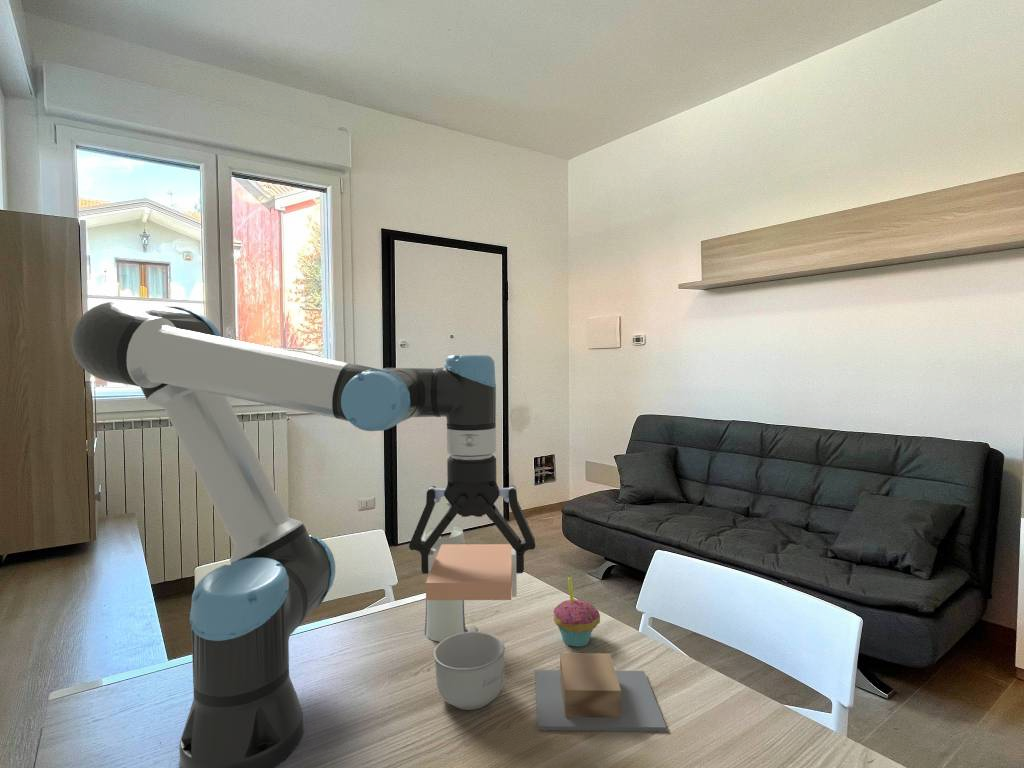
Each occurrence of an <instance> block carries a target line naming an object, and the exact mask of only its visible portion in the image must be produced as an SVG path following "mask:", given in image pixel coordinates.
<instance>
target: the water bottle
mask: <svg viewBox="0 0 1024 768" xmlns="http://www.w3.org/2000/svg"><path fill="white" fill-rule="evenodd" d="M445 504H446V505H447V506H448V507H449V508H450V507H451V504H450V503H449V502H445ZM435 528H436V527H429V528H428V529H425V530H424V532H423V535H422V537H421V540H422V541H424V542H425V541H426V540H427V538H428V537H429V536H430V534H431V533H432V532H433V530H434V529H435ZM441 536H442V535H441ZM441 536H440V537H439V538H438V540H437V541H436V542H435V544H434V545H433V546H432V548H431V549H436V557H437V554H438V552H439V549H440V547H441V545H442V544H467V541H466V538H465V534H464V531H463V529H462V528H460V527H458V526H454V527H452V530H451V533H450V535H449V537H441ZM431 549H430V550H431ZM424 621H425V623H424V624H425V625H424V635H425V637H426V638H427V639H429V640H430V641H433V642H439V643H440V642H441V641H443V640H444V639H446V638H448V637H450V636H452V635H455V634H459V633H464V632H466V622H465V621H466V620H465V600H426V599H425V620H424Z"/></svg>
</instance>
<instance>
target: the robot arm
mask: <svg viewBox="0 0 1024 768" xmlns="http://www.w3.org/2000/svg"><path fill="white" fill-rule="evenodd" d="M70 345H71V349H72V352H73V355H74V358H75V359H76V361H77V363H78V364H79V365H80V366H81V368H83V369H84V370H85V371H86V372H87V373H88V374H90V375H91V376H93V377H95V378H98V379H100V380H102V381H105V382H109V383H113V384H114V383H116V384H117V383H118V384H125V385H128V386H129V385H130V386H135V387H139V388H140V389H141V392H142V394H143V395H144V397H145V399H146V401H147V403H149V404H150V405H154V406H156V407H157V406H158V407H159V408H162V409H164V411H165V412H166V413H165V414H166V415H167V417H168V419H169V421H170V422H171V423H170V424H171V425H172V426H173V428H174V429H173V430H175V432H176V435H177V437H178V439H179V440H180V442H181V444H182V446H183V447H184V450H185V452H186V454H187V456H188V457H189V460H190V461H191V463H192V466H193V468H194V470H195V472H196V473H197V475H198V477H199V479H200V481H201V483H202V485H203V487H204V489H205V491H206V493H207V495H208V496H209V499H210V501H211V502H212V504H213V507H214V509H215V510H216V512H217V514H218V516H219V518H220V521H221V522H222V524H223V526H224V528H225V530H226V531H227V534H228V536H229V537H230V540H231V541H232V543H233V550H232V553H231V556H230V558H229V562H230V564H224V565H220V566H219V567H217V568H215V569H213V570H211V571H210V572H208V573H207V574H206V575H205V576H204V577H202V578H201V580H199V581H198V582H197V584H196V586H195V588H194V590H193V592H192V595H191V607H190V612H189V623H190V628H191V652H192V653H191V654H192V655H191V656H192V657H191V658H192V678H193V679H192V682H193V683H192V684H193V699H192V703H191V705H190V706H191V707H190V710H189V712H188V715H187V719H186V722H185V726H184V728H183V731H182V735H181V736H180V737H181V738H180V740H179V766H180V768H273V767H275V766H276V765H278V764H279V763H280V762H282V761H283V760H285V759H286V758H287V757H288V756H289V755H290V754H291V753H293V751H294V750H295V749H296V747H297V746H298V745H299V743H300V742H301V739H302V738H303V735H304V729H305V728H304V722H305V721H304V720H305V719H304V710H303V706H302V704H301V702H300V700H299V697H298V694H297V692H296V689H295V687H294V683H293V682H292V680H291V677H290V650H289V645H290V643H289V641H290V636H291V635H292V634H293V633H294V631H295V630H297V629H298V627H299V626H300V625H301V624H302V623H304V621H305V620H306V619H307V617H308V616H309V615H310V614H311V613H312V612H314V610H316V609H317V608H318V607H319V606H320V605H321V604H322V603H323V602H324V600H325V598H326V597H327V594H329V592H330V590H331V588H332V587H333V584H334V581H335V577H336V561H335V557H334V554H333V552H332V550H331V549H330V547H329V545H328V544H327V543H326V542H325V541H324V540H322V539H321V538H320V537H316V536H314V535H313V534H309V531H307V529H306V526H305V524H304V523H303V522H302V520H298V519H295V518H291V517H290V516H288V514H287V512H286V509H284V506H283V504H282V502H281V500H280V499H279V497H278V494H277V492H276V490H275V488H274V486H273V484H272V483H271V481H270V479H269V477H268V474H267V473H266V471H265V470H264V467H263V465H262V463H261V461H260V459H259V457H258V455H257V453H256V452H255V449H254V448H253V446H252V444H251V442H250V439H249V437H248V436H247V434H246V432H245V430H244V428H243V426H242V424H241V423H240V420H239V418H238V417H237V415H236V411H234V408H233V407H232V404H231V403H230V400H229V398H234V399H238V400H243V401H248V402H254V403H260V404H264V405H267V406H268V405H269V406H274V407H278V408H283V409H289V410H292V411H293V410H294V411H299V412H303V413H309V414H313V415H318V416H323V417H329V418H331V419H332V418H333V419H337V420H342V421H346V422H349V423H350V424H351V425H352V426H354V427H355V428H357V429H359V430H362V431H364V432H365V431H366V432H381V431H386V430H389V429H392V428H393V427H395V426H397V425H398V424H400V423H401V422H404V421H406V420H408V419H411V418H432V417H434V418H441V417H443V418H444V417H445V418H446V452H447V454H449V455H450V456H448V458H447V462H446V468H447V469H446V473H447V474H446V475H447V478H446V479H447V484H446V488H444V487H443V488H441V487H440V488H439V487H438V488H437V487H436V486H435V485H431V486H430V487H429V488H428V489H427V491H426V496H425V497H426V499H425V500H426V501H425V506H424V507H423V508H424V509H423V511H422V513H421V516H420V518H419V520H418V523H417V525H416V528H415V530H414V532H413V535H412V536H411V539H410V543H409V545H408V548H409V550H411V551H418V552H419V553H420V555H421V558H420V562H421V573H422V574H424V575H425V574H427V577H428V576H429V574H430V571H431V569H432V566H433V564H434V562H435V559H436V549H431V548H432V546H433V545H434V544H435V542H436V541H437V540H438V538H439V537H440V536H442V534H443V533H444V532H445V530H446V529H447V528H448V526H449V525H450V523H451V522H452V521H453V520H454V519H455V517H456V516H457V515H459V516H461V517H462V518H466V517H467V518H468V517H472V516H473V517H476V518H482V517H484V516H485V515H486V516H487V517H488V518H489V520H490V521H491V522H493V524H494V525H495V527H497V529H498V530H499V532H500V533H501V534H502V536H503V537H504V538H505V539H506V541H507V542H508V544H510V545H511V546H512V550H511V565H512V587H511V598H514V597H517V593H518V592H517V589H518V588H517V587H518V586H517V581H518V580H517V578H518V577H517V576H518V575H517V574H523V573H524V570H525V556H524V555H525V553H526V552H527V551H530V550H532V551H533V550H535V549H536V540H535V539H536V538H535V537H534V535H533V532H532V529H531V528H530V526H529V523H528V521H527V519H526V516H525V514H524V512H523V509H522V507H521V505H520V503H519V500H518V495H517V493H518V492H517V491H518V490H517V487H516V485H510V486H509V487H499V486H498V484H497V458H496V456H495V455H494V454H495V453H496V452H497V426H496V425H497V424H496V423H497V422H496V421H497V414H496V413H497V405H496V404H497V403H496V402H497V401H496V400H497V383H496V372H495V371H496V369H495V360H494V359H493V358H492V357H491V356H489V355H487V354H468V355H467V354H462V355H461V354H458V355H457V354H456V355H454V354H453V355H448V356H447V357H446V358H445V364H444V367H436V368H425V367H424V368H423V367H422V368H419V367H418V368H417V367H416V368H415V367H413V368H411V367H385V368H377V367H371V366H365V365H360V364H353V363H349V362H345V361H339V360H335V359H334V360H333V359H329V358H324V357H319V356H314V355H309V354H305V353H299V352H294V351H291V350H290V351H289V350H285V349H279V348H276V347H275V348H274V347H270V346H264V345H260V344H255V343H250V342H245V341H241V340H235V339H231V338H226V337H222V335H221V332H220V330H219V329H218V328H217V326H216V325H215V323H214V322H212V320H210V319H209V318H207V317H206V316H204V315H203V314H201V313H198V312H195V311H193V310H189V309H186V308H184V307H180V306H179V307H178V306H160V305H152V304H145V303H139V302H132V301H123V300H122V301H121V300H120V301H119V300H117V301H110V302H104V303H101V304H98V305H96V306H94V307H92V308H90V309H89V310H87V311H85V313H83V314H82V315H81V316H80V317H79V319H78V320H77V321H76V323H75V325H74V327H73V330H72V333H71V340H70ZM228 397H229V398H228ZM443 497H445V499H446V501H448V502H449V503H450V504H451V507H449V509H448V510H447V511H446V513H445V514H444V516H442V517H441V520H440V521H439V522H438V524H437V525H436V526H435V527H434V528H435V529H434V530H433V532H432V533H431V534H430V536H429V537H428V538H427V540H426V541H425V542H424V541H422V537H423V535H424V532H425V531H426V527H427V525H428V522H429V521H430V519H431V515H432V513H433V510H434V509H435V507H436V506H435V505H436V504H437V503H439V502H440V501H441V499H442V498H443ZM499 497H502V498H503V500H504V502H505V503H509V504H508V505H509V508H510V510H511V513H512V515H513V517H514V519H515V522H516V523H517V525H518V526H517V527H518V528H519V530H520V532H521V536H522V537H523V540H521V538H520V537H519V536H518V534H517V533H516V531H515V530H513V528H512V526H511V525H510V524H509V522H508V521H507V520H506V519H505V518H504V516H503V515H502V514H501V512H500V511H499V509H498V508H497V506H496V504H495V503H496V501H497V500H498V498H499ZM430 549H431V550H430Z"/></svg>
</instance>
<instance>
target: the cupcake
mask: <svg viewBox="0 0 1024 768" xmlns="http://www.w3.org/2000/svg"><path fill="white" fill-rule="evenodd" d="M567 574H568V575H567V576H568V577H567V582H568V584H567V585H568V591H569V599H567V600H564V601H562V602H561V603H559V604H558V605H556V607H554V609H553V621H554V624H555V625H556V626H557V628H558V630H559V632H560V634H561V638H562V639H561V640H562V641H563V643H565V644H566V645H568V646H571V647H577V646H578V647H583V646H586V645H588V643H589V642H590V638H591V635H592V632H593V631H594V629H595V628H597V626H598V625H599V624H600V623H601V614H600V612H599V611H598V609H597V608H596V607H595V606H594V605H592V604H591V603H589V602H587V601H586V600H581V599H575V597H574V592H573V591H574V590H573V582H572V581H573V580H572V577H571V575H570V573H569V572H568V573H567Z"/></svg>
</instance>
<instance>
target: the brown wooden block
mask: <svg viewBox="0 0 1024 768" xmlns="http://www.w3.org/2000/svg"><path fill="white" fill-rule="evenodd" d="M559 670H560V681H561V688H562V696H563V704H564V712H565V717H601V718H621V689H620V685H619V682H618V679H617V675H616V672H615V671H616V670H615V667H614V663H613V660H612V656H611V653H608V652H607V653H603V652H602V653H600V652H599V653H598V652H594V653H593V652H591V653H590V652H586V653H585V652H583V653H582V652H581V653H580V652H578V653H577V652H576V653H575V652H572V653H571V652H560V654H559Z"/></svg>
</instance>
